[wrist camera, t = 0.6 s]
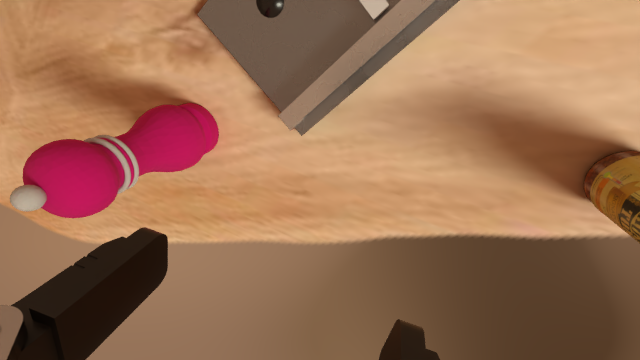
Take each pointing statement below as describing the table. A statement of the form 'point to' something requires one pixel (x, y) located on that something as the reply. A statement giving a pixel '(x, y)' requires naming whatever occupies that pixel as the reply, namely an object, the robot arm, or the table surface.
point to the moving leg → (375, 7)
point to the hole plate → (315, 46)
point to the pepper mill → (113, 161)
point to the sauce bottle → (617, 190)
